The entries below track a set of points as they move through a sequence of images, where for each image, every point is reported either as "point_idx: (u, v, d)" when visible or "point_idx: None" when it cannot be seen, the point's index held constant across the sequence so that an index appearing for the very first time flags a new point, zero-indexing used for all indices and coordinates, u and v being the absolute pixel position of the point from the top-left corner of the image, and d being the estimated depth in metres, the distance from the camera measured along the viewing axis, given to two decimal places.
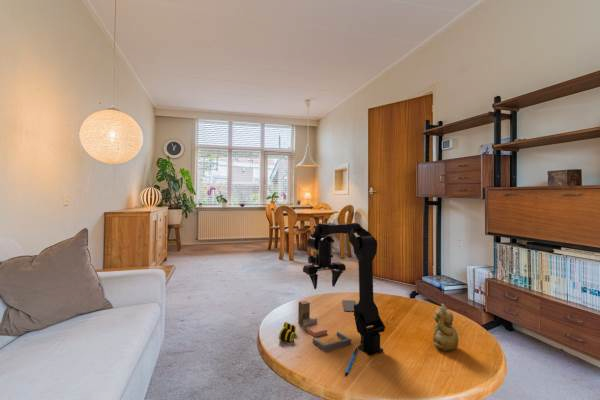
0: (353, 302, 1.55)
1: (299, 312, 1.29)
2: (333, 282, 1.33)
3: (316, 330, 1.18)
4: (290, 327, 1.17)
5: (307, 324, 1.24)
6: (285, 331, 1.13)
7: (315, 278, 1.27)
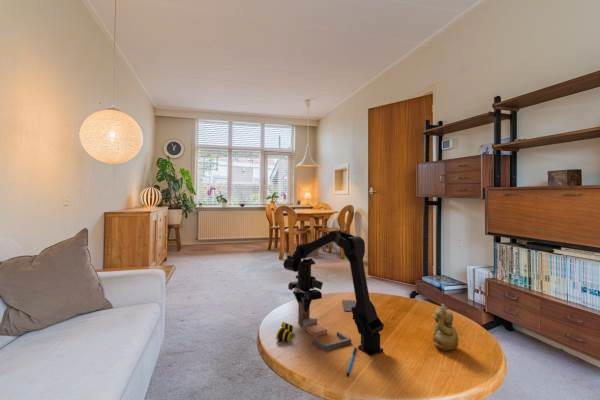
0: (353, 302, 1.55)
1: (299, 312, 1.29)
2: None
3: (316, 330, 1.18)
4: (288, 327, 1.18)
5: (307, 324, 1.24)
6: (283, 331, 1.13)
7: (295, 296, 1.31)
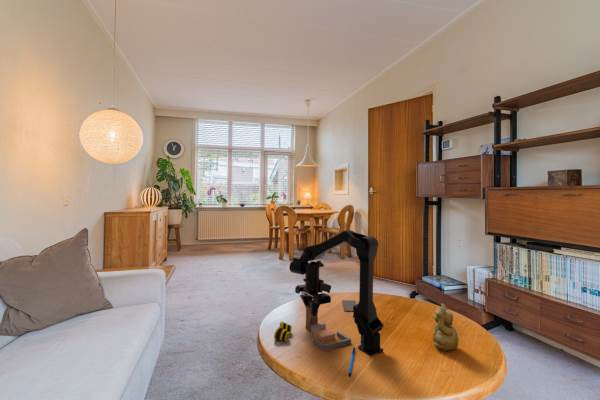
0: (353, 302, 1.55)
1: (307, 316, 1.24)
2: None
3: (323, 334, 1.14)
4: (286, 327, 1.18)
5: None
6: (280, 330, 1.13)
7: (302, 300, 1.26)
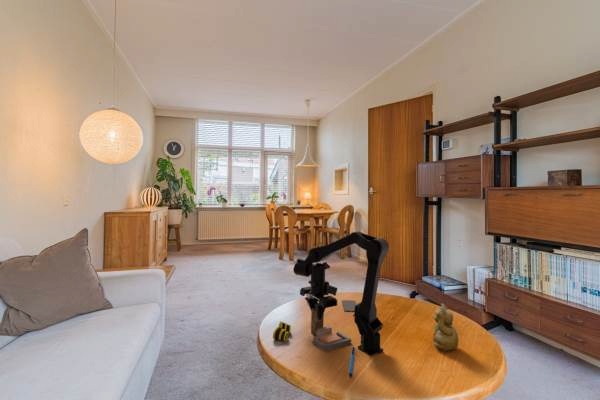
0: (353, 302, 1.55)
1: (312, 320, 1.20)
2: None
3: (330, 339, 1.11)
4: (285, 326, 1.18)
5: (321, 334, 1.15)
6: (279, 330, 1.13)
7: (308, 303, 1.22)
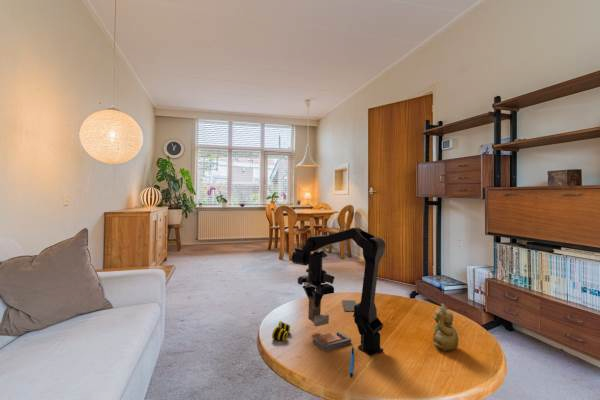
0: (353, 302, 1.55)
1: (309, 308, 1.22)
2: None
3: (330, 340, 1.11)
4: (284, 326, 1.18)
5: (318, 321, 1.16)
6: (278, 330, 1.13)
7: (305, 291, 1.24)
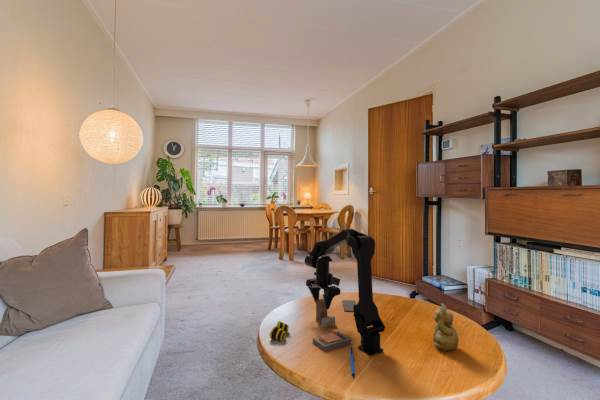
0: (353, 302, 1.55)
1: (317, 310, 1.32)
2: None
3: (330, 340, 1.11)
4: (283, 326, 1.18)
5: (325, 322, 1.26)
6: (276, 330, 1.14)
7: (310, 291, 1.35)
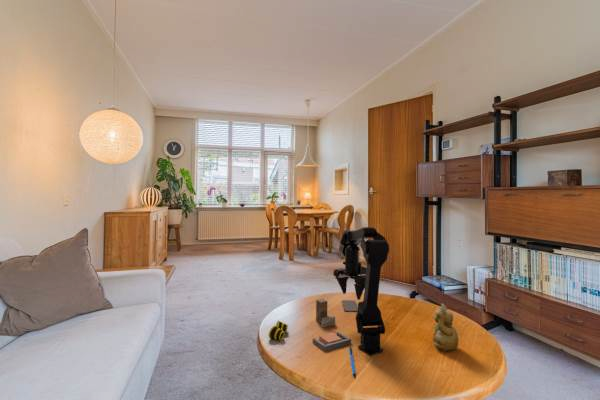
0: (353, 302, 1.55)
1: (317, 310, 1.32)
2: None
3: (330, 340, 1.11)
4: (282, 326, 1.18)
5: (325, 322, 1.26)
6: (275, 329, 1.14)
7: (338, 281, 1.32)
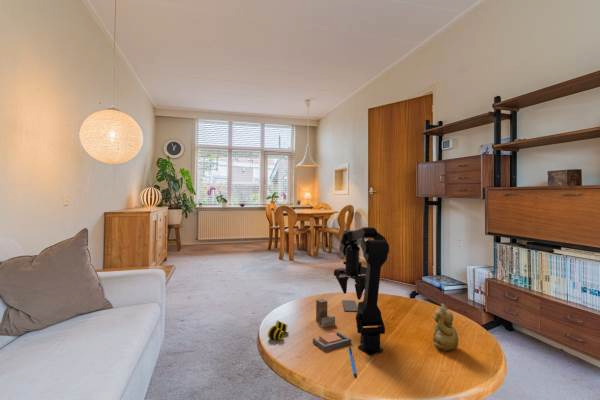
0: (353, 302, 1.55)
1: (317, 310, 1.32)
2: None
3: (330, 340, 1.11)
4: (281, 326, 1.19)
5: (325, 322, 1.26)
6: (274, 329, 1.14)
7: (338, 281, 1.32)
